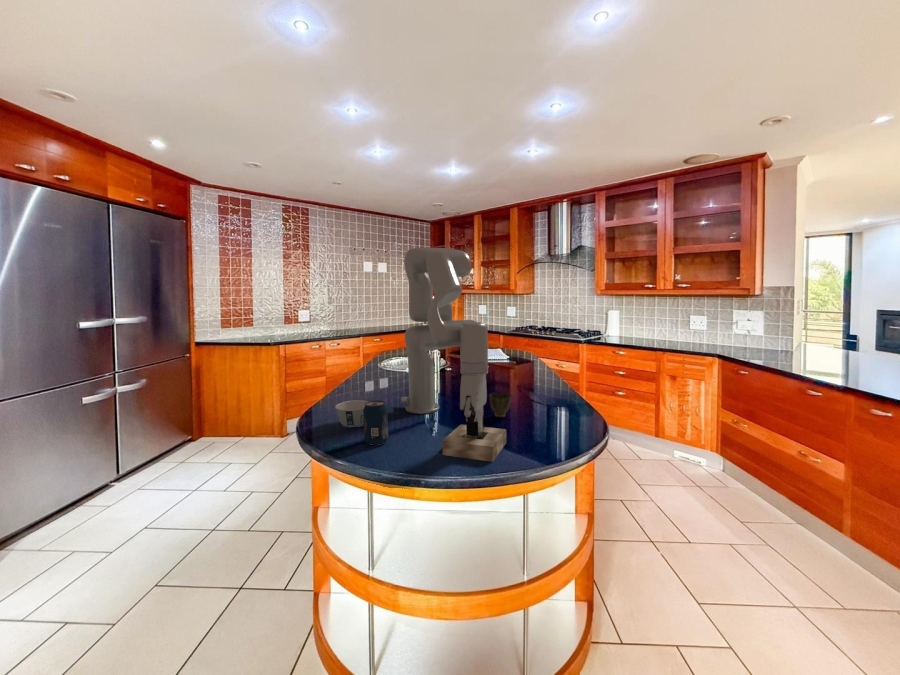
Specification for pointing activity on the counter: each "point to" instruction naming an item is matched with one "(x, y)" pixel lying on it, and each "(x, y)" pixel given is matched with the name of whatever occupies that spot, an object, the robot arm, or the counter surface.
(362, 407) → the food container
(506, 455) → the counter surface
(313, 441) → the counter surface
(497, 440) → the square wooden frame
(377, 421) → the soda can
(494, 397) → the brown bumpy hollow part
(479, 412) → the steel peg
